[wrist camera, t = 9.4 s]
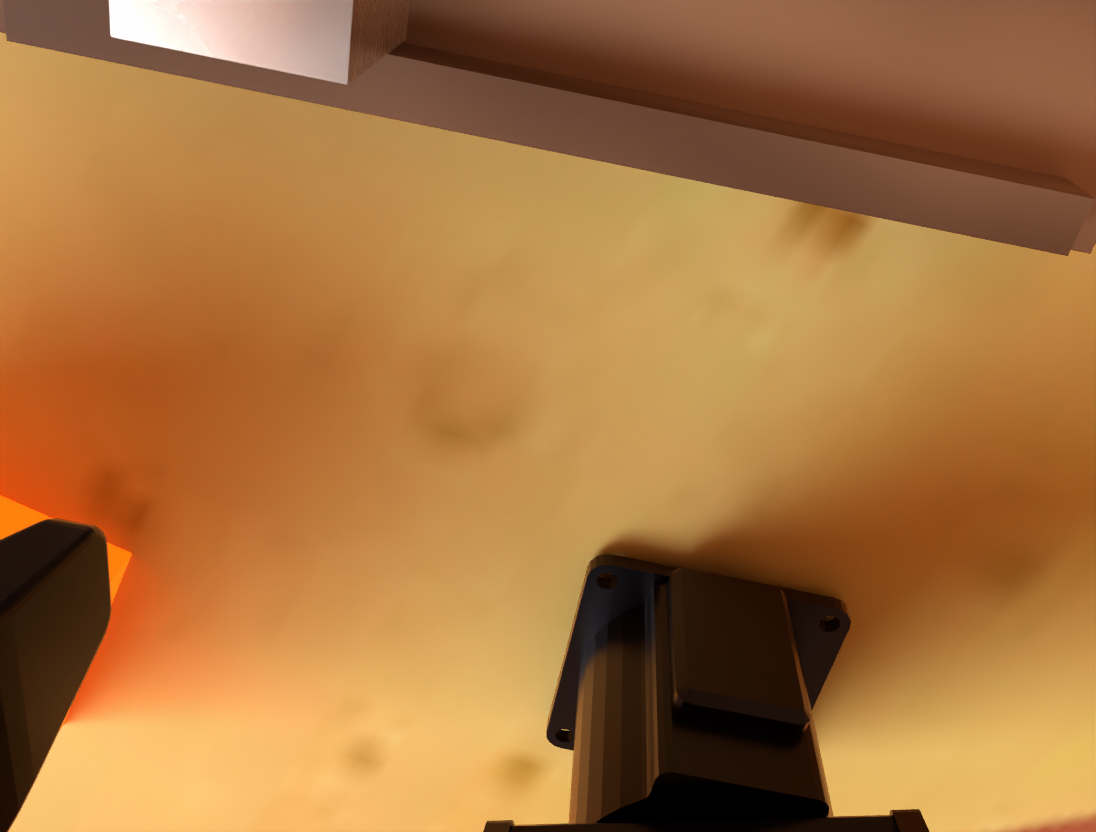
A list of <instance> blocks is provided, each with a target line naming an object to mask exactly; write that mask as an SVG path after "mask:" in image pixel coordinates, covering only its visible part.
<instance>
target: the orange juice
mask: <svg viewBox="0 0 1096 832" xmlns="http://www.w3.org/2000/svg"><path fill="white" fill-rule="evenodd" d="M50 518H51V517H49V516H46V515H44V514H42V513H40V512H37V511H35V510H33V509H31V508H28V507H26V506H24V505H22V504H19V503H17V502H15V501H12V500H10V499H8V498H6V497H3V496H1V495H0V539H2V538H4V537H7V536H9V535H11V534H13V533H15V532H17V531H20V530H22V529H24V528H26V527H28V526H30V525H33V524H35V523H37V522H39V521H42V520H45V519H50ZM52 519H53V518H52ZM107 546H108V561H109V576H110V590H111V605H112V602H113V600H114V597H115V595H116V592H117V590H118V587H119V585H120V582H121V580H122V577H123V575H124V572H125V570H126V567H127V565H128V562H129V560H130V557H131V555H132V553H130V552H128V551H126V550H123V549H121V548H119V547H117V546H114V545H112V544H110V543H108V542H107ZM69 710H70V709H69ZM68 712H69V711H68ZM67 715H68V713H67ZM67 715H66V717H67ZM66 717H65V720H66ZM65 720H64V722H65ZM64 722H63V724H62V726H63V725H64ZM62 726H61V728H62ZM61 728H60V729H61ZM59 731H60V730H59Z"/></svg>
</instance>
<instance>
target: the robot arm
mask: <svg viewBox="0 0 1096 832" xmlns="http://www.w3.org/2000/svg"><path fill="white" fill-rule="evenodd" d="M603 573H611V574H613V575H615V577H613V578H611V579H605V578H603V577H601V576H600V575H601V574H603ZM110 615H111V590H110V576H109V561H108V546H107V540H106V537H105V535H104V532H103V531H102V530H101V529H99V528H98V527H96V526H93V525H88V524H83V523H78V522H73V521H68V520H62V519H52V518H50V519H45V520H42V521H39V522H37V523H35V524H33V525H30V526H28V527H26V528H24V529H22V530H20V531H17V532H15V533H13V534H11V535H9V536H7V537H4V538H2V539H0V832H8V831H9V829H10V827H11V826H12V824H13V822H14V820H15V819H16V817H17V815H18V813H19V812H20V810H21V808H22V806H23V804H24V802H25V800H26V798H27V796H28V794H29V792H30V790H31V788H32V786H33V784H34V782H35V780H36V778H37V776H38V774H39V772H40V770H41V768H42V766H43V763H44V761H45V759H46V757H47V755H48V753H49V751H50V749H51V747H52V745H53V743H54V740H55V738H56V736H57V734H58V732H59V730H60V728H61V726H62V724H63V722H64V720H65V717H66V715H67V713H68V711H69V709H70V707H71V705H72V703H73V701H74V699H75V696H76V694H77V692H78V690H79V688H80V686H81V684H82V682H83V680H84V678H85V676H86V673H87V671H88V669H89V667H90V665H91V663H92V661H93V659H94V657H95V655H96V652H97V650H98V648H99V646H100V644H101V642H102V640H103V638H104V635H105V633H106V630H107V627H108V624H109V620H110ZM826 616H834V617H835V618H834V619H831V620H829V621H823V620H821V619H822V618H824V617H826ZM850 623H851V621H850V618H849V614H848V611H847V608H846V605H845V604H844V603H843V602H842V601H841V600H838V599H836V598H833V597H827V596H822V595H817V594H812V593H807V592H802V591H797V590H791V589H786V588H781V587H777V586H772V585H767V584H762V583H757V582H752V581H747V580H741V579H736V578H731V577H726V576H721V575H716V574H710V573H705V572H700V571H695V570H690V569H685V568H678V567H673V566H667V565H662V564H657V563H652V562H647V561H642V560H636V559H631V558H626V557H621V556H616V555H600V556H597V557H595V558H594V559H593V560H591V561H590V563H589V565H588V567H587V571H586V575H585V579H584V583H583V586H582V590H581V594H580V598H579V602H578V606H577V610H576V613H575V617H574V621H573V625H572V629H571V633H570V637H569V640H568V644H567V648H566V652H565V656H564V660H563V664H562V667H561V671H560V675H559V679H558V683H557V687H556V691H555V694H554V698H553V702H552V706H551V710H550V714H549V718H548V723H547V739H548V740H549V742H550V743H552V744H553V745H554V746H557V747H560V748H564V749H569V750H574V754H573V768H572V783H571V798H570V812H569V824H536V825H514V822H513V821H512V820H507V821H487V823H486V825H485V828H484V831H483V832H929V830H928V828H927V825H926V823H925V821H924V819H923V816H922V814H921V812H920V810H919V809H912V810H890V815H876V816H838V817H834V816H833V812H832V807H831V802H830V797H829V792H828V788H827V783H826V778H825V773H824V768H823V764H822V759H821V754H820V749H819V745H818V740H817V735H816V730H815V725H814V721H813V716H812V709H813V706H814V704H815V702H816V700H817V698H818V696H819V693H820V691H821V689H822V687H823V685H824V682H825V680H826V678H827V676H828V674H829V672H830V669H831V667H832V665H833V663H834V661H835V658H836V656H837V654H838V652H839V650H840V648H841V645H842V643H843V641H844V639H845V637H846V634H847V632H848V630H849V628H850ZM561 729H568V730H569V731H564V730H561Z"/></svg>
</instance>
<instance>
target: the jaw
mask: <svg viewBox="0 0 1096 832" xmlns="http://www.w3.org/2000/svg"><path fill="white" fill-rule="evenodd" d="M409 6H410V0H109V13H110V33H111V37H115V38H120V39H125V40H130V41H135V42H139V43H144V44H149V45H154V46H159V47H164V48H169V49H174V50H179V51H184V52H189V53H193V54H198V55H203V56H208V57H213V58H218V59H223V60H228V61H233V62H238V63H243V64H247V65H252V66H257V67H262V68H267V69H272V70H277V71H282V72H287V73H292V74H297V75H301V76H306V77H311V78H316V79H321V80H326V81H331V82H336V83H341V84H346V85H348V84H349V83H350V82H351V81H353V80H354V79H355V78H357V77H358V76H359V75H361V74H362V73H363V72H364V71H366V70H367V69H368V68H370V67H371V66H372V65H374V64H375V63H376V62H378V61H379V60H380V59H381V58H383V57H384V56H385V55H387V54H388V53H389V52H391V51H392V50H393V49H394V48H396V47H397V46H398V45H400V44H401V43H402V42H404V41H405V40H406V36H407V26H408V16H409Z"/></svg>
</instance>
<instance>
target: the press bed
mask: <svg viewBox="0 0 1096 832" xmlns="http://www.w3.org/2000/svg"><path fill="white" fill-rule="evenodd" d="M0 32H2V33H6V35H7V41H11V42H16V43H21V44H26V45H31V46H36V47H41V48H46V49H51V50H56V51H61V52H65V53H70V54H75V55H80V56H85V57H90V58H95V59H100V60H105V61H110V62H115V63H120V64H125V65H129V66H134V67H139V68H144V69H149V70H154V71H159V72H164V73H169V74H174V75H179V76H184V77H189V78H194V79H198V80H203V81H208V82H213V83H218V84H223V85H228V86H233V87H238V88H243V89H248V90H253V91H258V92H262V93H267V94H272V95H277V96H282V97H287V98H292V99H297V100H302V101H307V102H312V103H317V104H322V105H326V106H331V107H336V108H341V109H346V110H351V111H356V112H361V113H366V114H371V115H376V116H381V117H386V118H391V119H395V120H400V121H405V122H410V123H415V124H420V125H425V126H430V127H435V128H440V129H445V130H450V131H455V132H459V133H464V134H469V135H474V136H479V137H484V138H489V139H494V140H499V141H504V142H509V143H514V144H519V145H524V146H528V147H533V148H538V149H543V150H548V151H553V152H558V153H563V154H568V155H573V156H578V157H583V158H588V159H592V160H597V161H602V162H607V163H612V164H617V165H622V166H627V167H632V168H637V169H642V170H647V171H652V172H656V173H661V174H666V175H671V176H676V177H681V178H686V179H691V180H696V181H701V182H706V183H711V184H716V185H721V186H725V187H730V188H735V189H740V190H745V191H750V192H755V193H760V194H765V195H770V196H775V197H780V198H785V199H789V200H794V201H799V202H804V203H809V204H814V205H819V206H824V207H829V208H834V209H839V210H844V211H849V212H853V213H858V214H863V215H868V216H873V217H878V218H883V219H888V220H893V221H898V222H903V223H908V224H913V225H918V226H922V227H927V228H932V229H937V230H942V231H947V232H952V233H957V234H962V235H967V236H972V237H977V238H982V239H986V240H991V241H996V242H1001V243H1006V244H1011V245H1016V246H1021V247H1026V248H1031V249H1036V250H1041V251H1046V252H1051V253H1055V254H1060V255H1065V256H1068V254H1069V252H1070V250H1075V251H1080V252H1085V253H1089V254H1090V253H1091V251H1092V249H1093V247H1094V245H1095V243H1096V0H410V6H409V16H408V26H407V36H406V40H405V41H404V42H402V43H401V44H400V45H398V46H397V47H396V48H394V49H393V50H392V51H391V52H389V53H388V54H387V55H385V56H384V57H383V58H381V59H380V60H379V61H378V62H376V63H375V64H374V65H372V66H371V67H370V68H368V69H367V70H366V71H364V72H363V73H362V74H361V75H359V76H358V77H357V78H355V79H354V80H353V81H351V82H350V83H349V84H348V85H346V84H341V83H336V82H331V81H326V80H321V79H316V78H311V77H306V76H301V75H297V74H292V73H287V72H282V71H277V70H272V69H267V68H262V67H257V66H252V65H247V64H243V63H238V62H233V61H228V60H223V59H218V58H213V57H208V56H203V55H198V54H193V53H189V52H184V51H179V50H174V49H169V48H164V47H159V46H154V45H149V44H144V43H139V42H135V41H130V40H125V39H120V38H115V37H111V33H110V13H109V0H0Z"/></svg>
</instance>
